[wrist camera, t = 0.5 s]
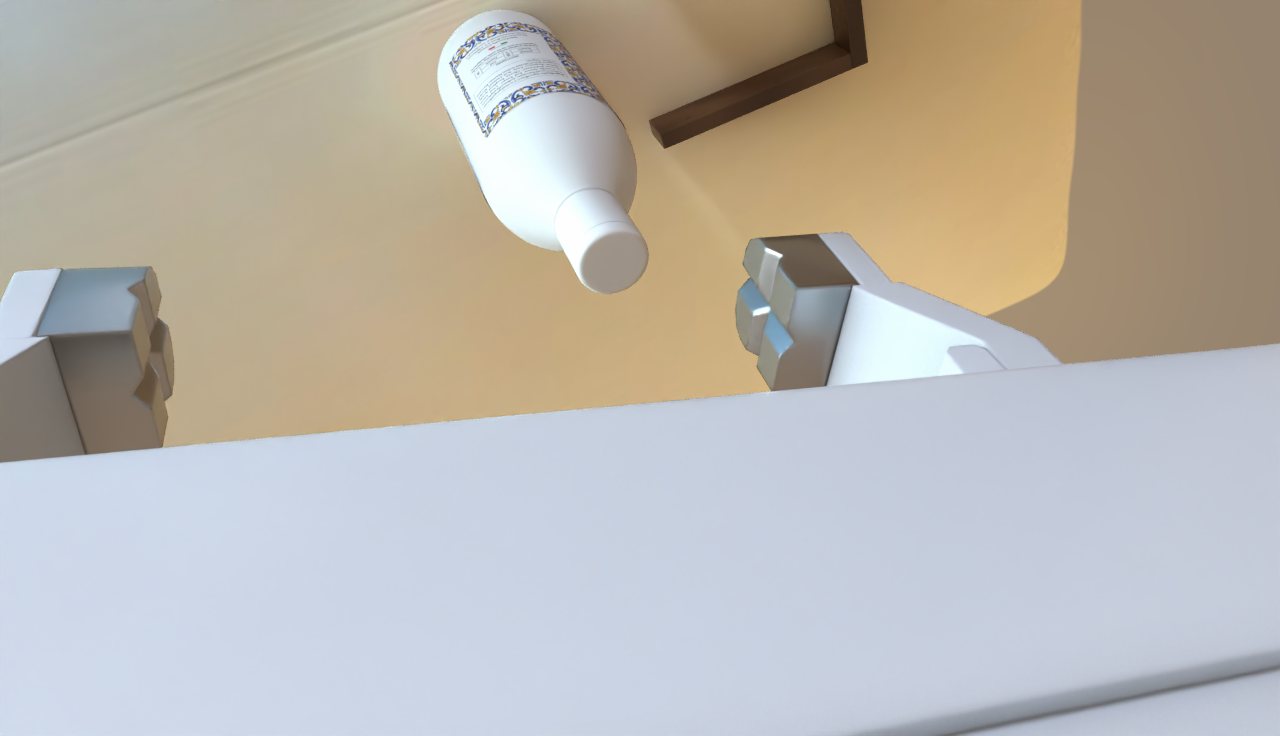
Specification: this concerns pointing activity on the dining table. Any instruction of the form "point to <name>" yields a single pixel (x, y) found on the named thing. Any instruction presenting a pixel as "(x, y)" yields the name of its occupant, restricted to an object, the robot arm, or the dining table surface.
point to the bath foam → (544, 145)
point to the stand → (771, 81)
